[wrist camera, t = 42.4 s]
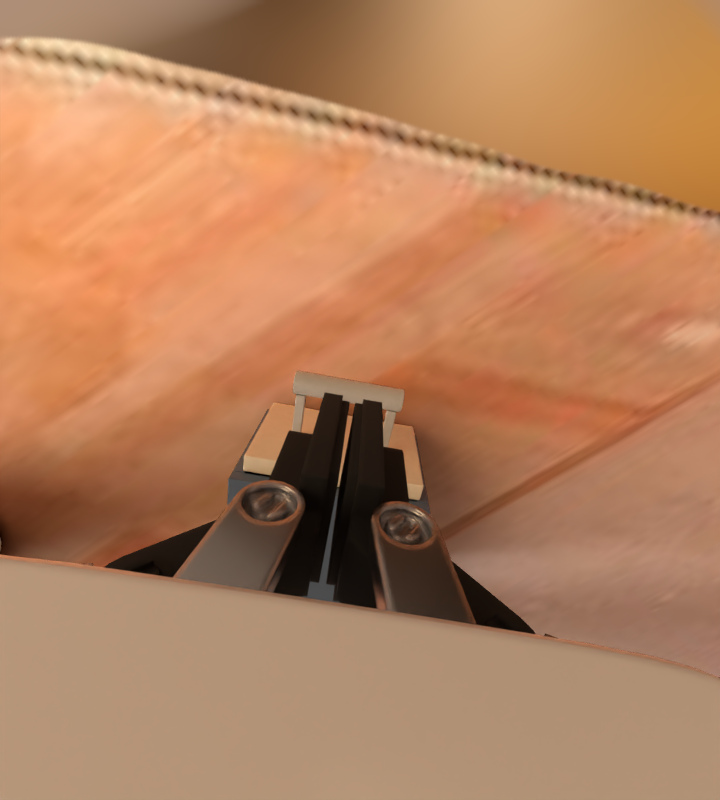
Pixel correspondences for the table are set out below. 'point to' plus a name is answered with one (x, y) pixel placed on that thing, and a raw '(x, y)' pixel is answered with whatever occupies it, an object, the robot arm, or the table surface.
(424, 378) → the table surface
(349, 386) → the drawer
